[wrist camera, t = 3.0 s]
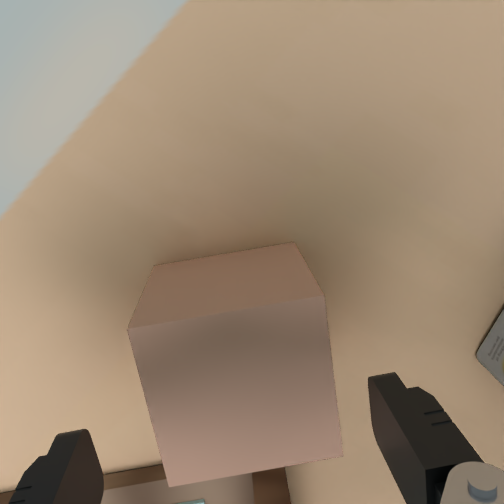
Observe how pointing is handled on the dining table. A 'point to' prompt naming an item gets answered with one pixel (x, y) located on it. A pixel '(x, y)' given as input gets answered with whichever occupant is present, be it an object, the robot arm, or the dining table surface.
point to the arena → (191, 488)
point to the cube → (236, 364)
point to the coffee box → (494, 350)
